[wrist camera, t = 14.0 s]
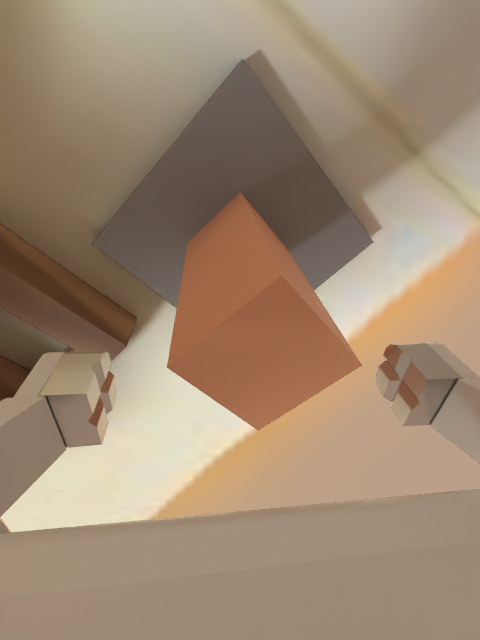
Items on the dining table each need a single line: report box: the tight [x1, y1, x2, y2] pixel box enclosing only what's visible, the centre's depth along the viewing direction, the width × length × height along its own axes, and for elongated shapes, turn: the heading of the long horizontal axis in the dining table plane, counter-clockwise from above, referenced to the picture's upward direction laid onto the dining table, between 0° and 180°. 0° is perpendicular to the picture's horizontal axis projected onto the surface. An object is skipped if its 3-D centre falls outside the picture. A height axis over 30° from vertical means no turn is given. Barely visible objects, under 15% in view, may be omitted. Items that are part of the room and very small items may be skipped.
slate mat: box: [92, 59, 373, 308], centre depth 20 cm, size 13×13×1 cm
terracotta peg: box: [167, 192, 361, 430], centre depth 15 cm, size 4×4×12 cm
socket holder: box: [0, 224, 137, 401], centre depth 21 cm, size 12×12×4 cm
